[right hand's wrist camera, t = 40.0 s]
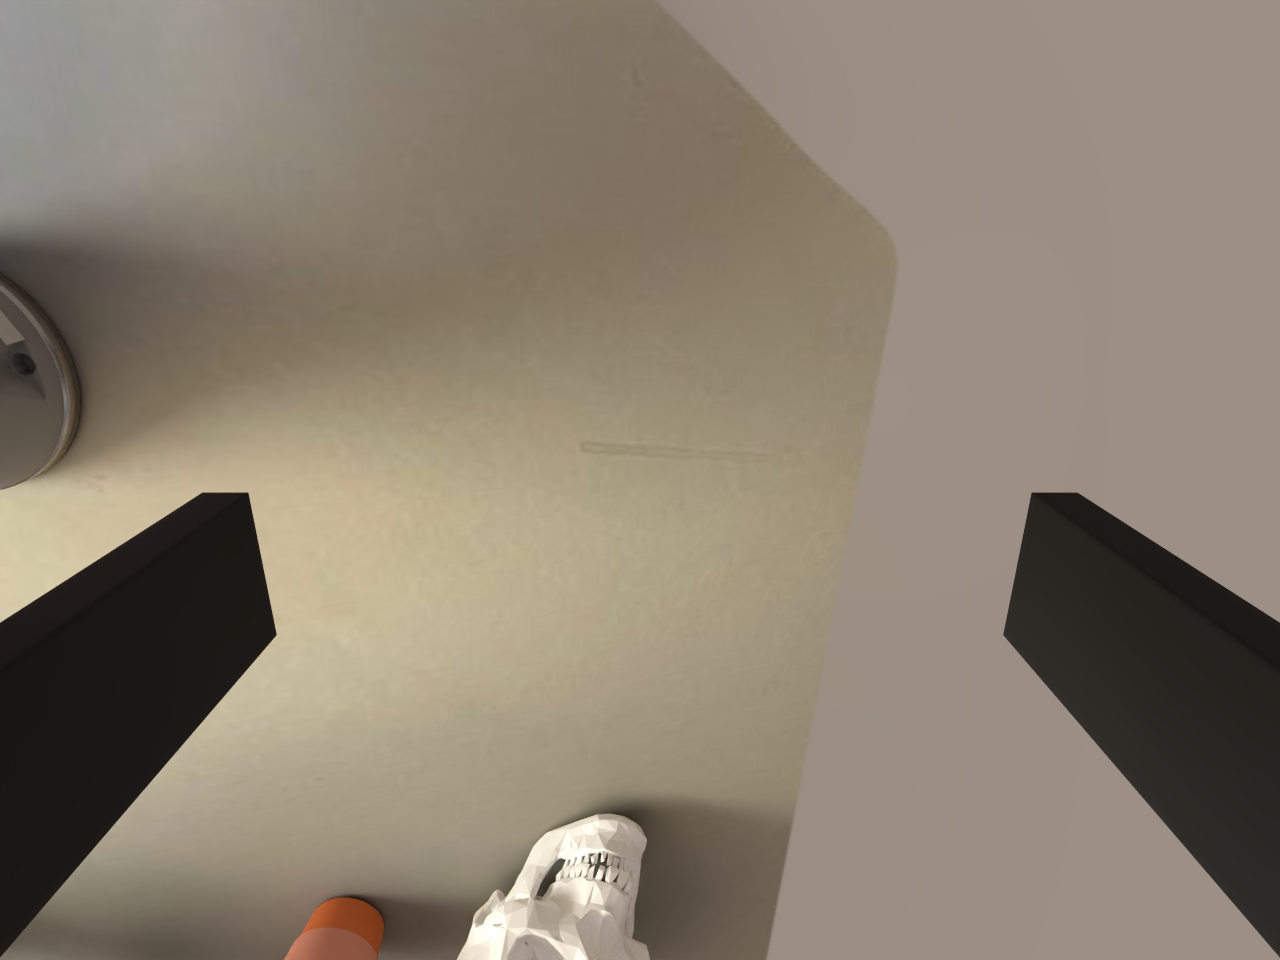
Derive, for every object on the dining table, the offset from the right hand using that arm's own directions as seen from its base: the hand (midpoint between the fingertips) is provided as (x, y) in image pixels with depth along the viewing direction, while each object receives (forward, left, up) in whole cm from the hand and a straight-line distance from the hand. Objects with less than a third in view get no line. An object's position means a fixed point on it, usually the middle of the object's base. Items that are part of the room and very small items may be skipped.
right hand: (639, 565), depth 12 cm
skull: (-43, -23, -35) cm, 60 cm away
